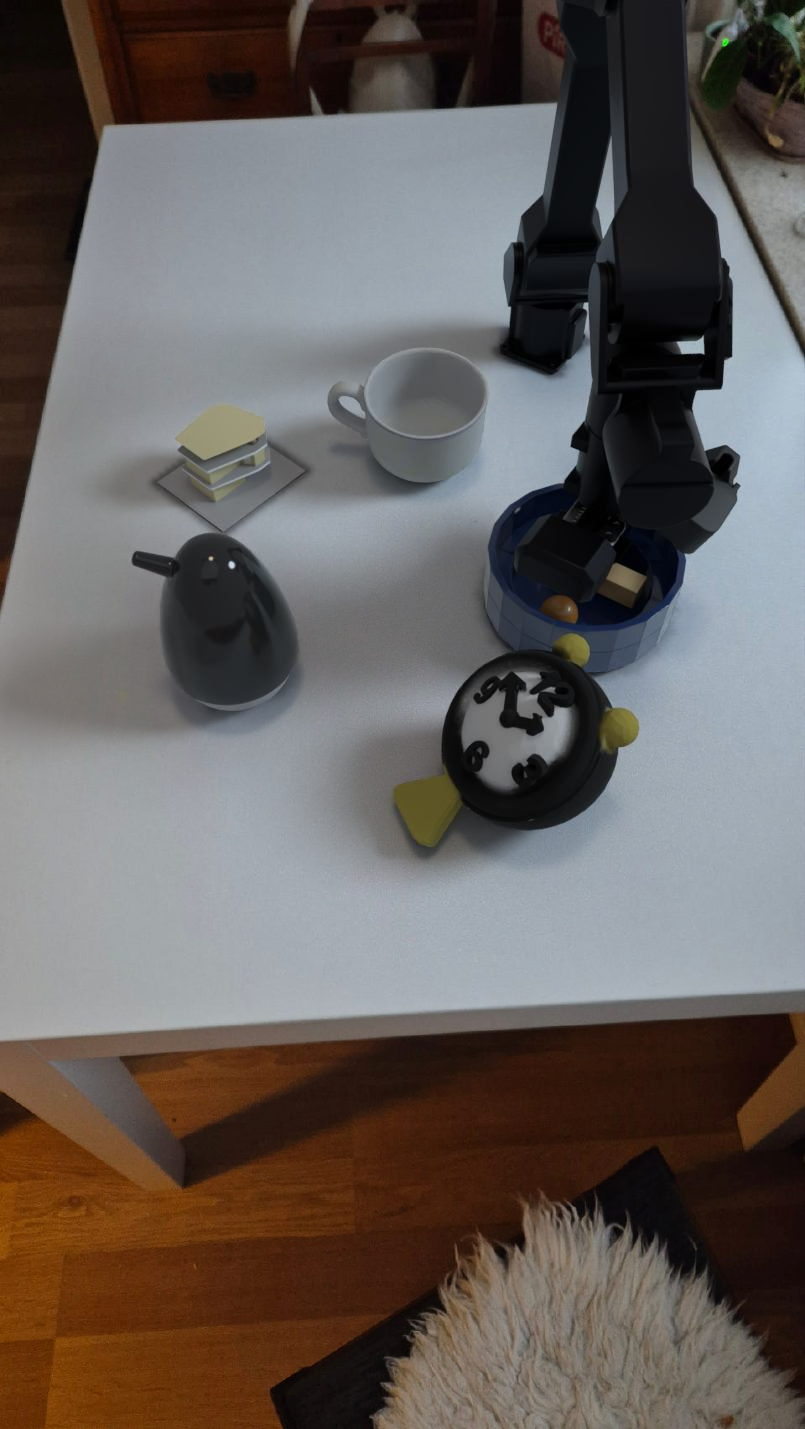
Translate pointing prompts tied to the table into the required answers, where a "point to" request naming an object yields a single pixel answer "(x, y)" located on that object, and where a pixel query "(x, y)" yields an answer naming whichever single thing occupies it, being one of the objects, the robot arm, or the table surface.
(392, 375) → the teacup
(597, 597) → the bowl
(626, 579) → the stick
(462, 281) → the table surface
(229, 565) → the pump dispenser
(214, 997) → the table surface
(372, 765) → the table surface
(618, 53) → the robot arm
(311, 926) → the table surface
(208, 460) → the stacked layers on plate
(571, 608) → the bead
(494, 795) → the alarm clock
